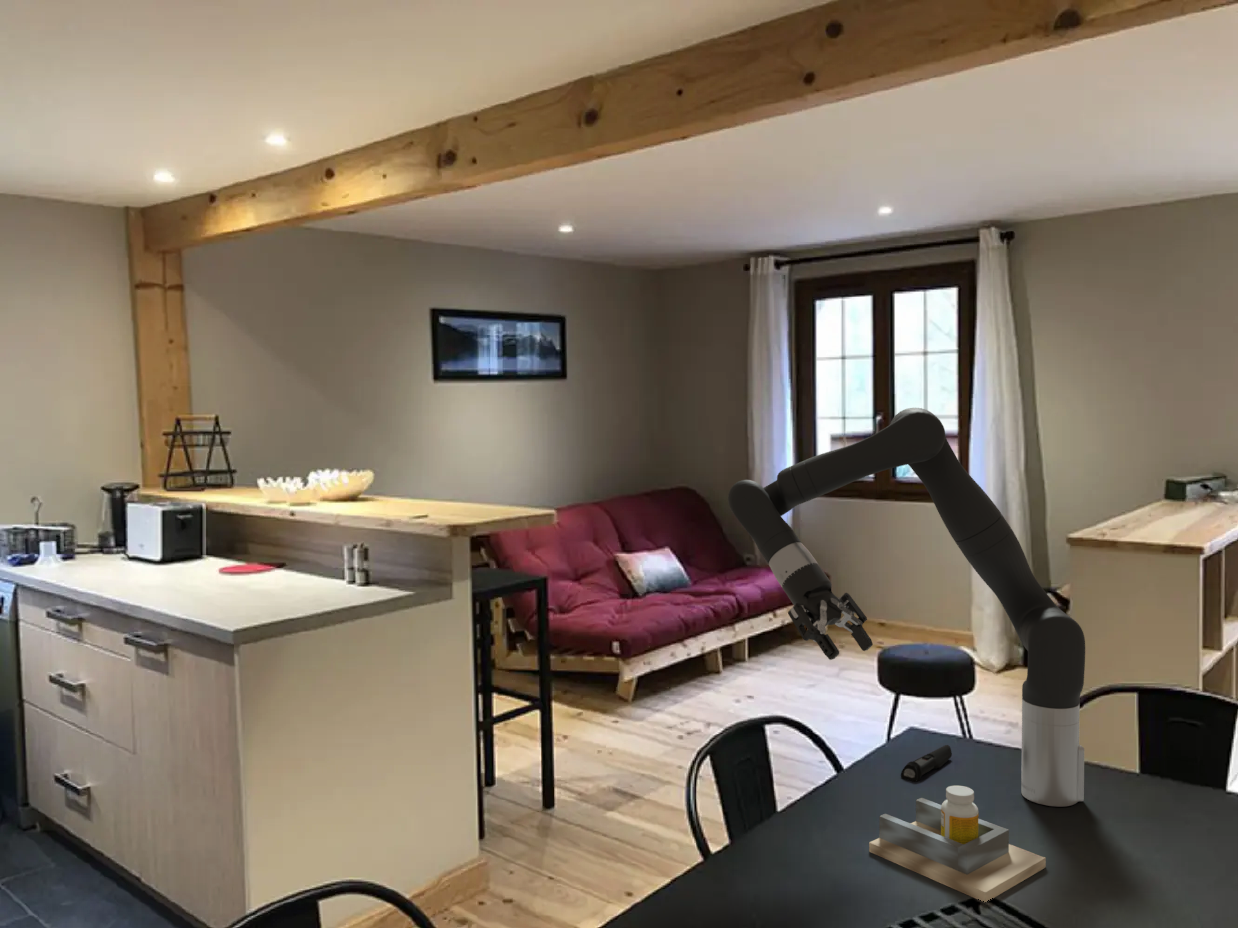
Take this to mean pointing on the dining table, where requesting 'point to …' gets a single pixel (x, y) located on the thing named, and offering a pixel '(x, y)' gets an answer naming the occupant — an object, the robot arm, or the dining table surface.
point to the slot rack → (955, 853)
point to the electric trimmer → (926, 763)
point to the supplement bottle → (959, 815)
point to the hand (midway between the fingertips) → (852, 652)
